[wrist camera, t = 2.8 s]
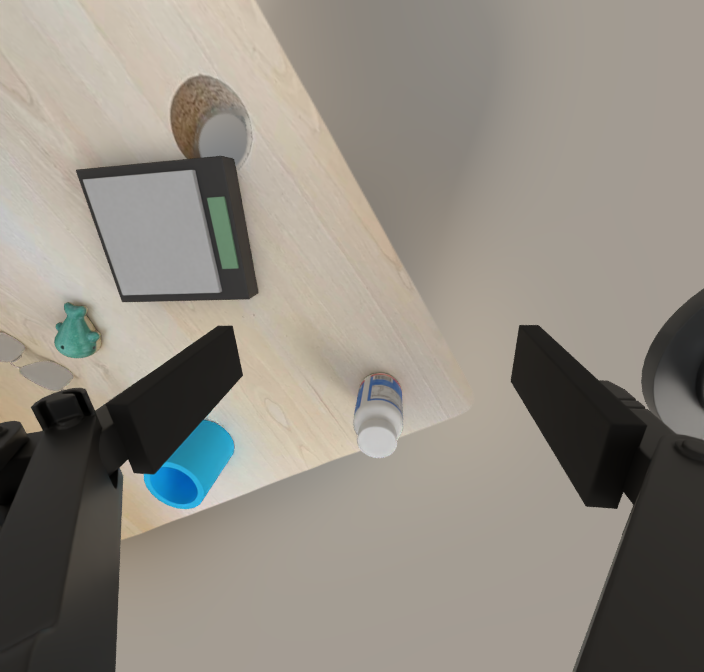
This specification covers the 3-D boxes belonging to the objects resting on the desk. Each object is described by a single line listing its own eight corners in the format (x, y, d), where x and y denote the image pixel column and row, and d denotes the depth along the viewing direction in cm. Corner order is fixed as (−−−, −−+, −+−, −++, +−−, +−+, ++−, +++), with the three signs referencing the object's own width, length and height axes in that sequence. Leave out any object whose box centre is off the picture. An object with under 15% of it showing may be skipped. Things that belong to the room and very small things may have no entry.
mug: (244, 453, 49) (216, 500, 41) (205, 468, 51) (172, 515, 44) (195, 391, 45) (154, 429, 38) (155, 410, 48) (110, 450, 40)
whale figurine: (69, 344, 45) (42, 356, 41) (63, 295, 42) (33, 304, 38) (109, 356, 45) (85, 369, 41) (105, 307, 42) (79, 318, 38)
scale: (234, 158, 33) (218, 155, 30) (258, 293, 38) (247, 301, 35) (96, 171, 35) (69, 169, 32) (137, 296, 40) (117, 303, 38)
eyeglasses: (84, 378, 47) (57, 395, 44) (76, 411, 51) (51, 429, 47) (-8, 324, 45) (-43, 337, 42) (-9, 362, 49) (-41, 377, 46)
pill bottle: (376, 414, 43) (371, 472, 34) (350, 385, 41) (337, 437, 32) (411, 394, 41) (414, 449, 32) (385, 363, 39) (380, 412, 31)
